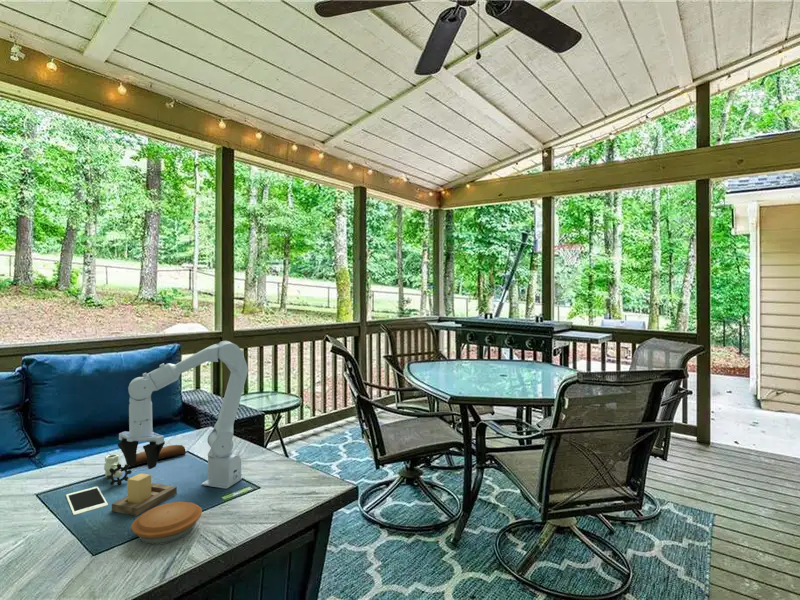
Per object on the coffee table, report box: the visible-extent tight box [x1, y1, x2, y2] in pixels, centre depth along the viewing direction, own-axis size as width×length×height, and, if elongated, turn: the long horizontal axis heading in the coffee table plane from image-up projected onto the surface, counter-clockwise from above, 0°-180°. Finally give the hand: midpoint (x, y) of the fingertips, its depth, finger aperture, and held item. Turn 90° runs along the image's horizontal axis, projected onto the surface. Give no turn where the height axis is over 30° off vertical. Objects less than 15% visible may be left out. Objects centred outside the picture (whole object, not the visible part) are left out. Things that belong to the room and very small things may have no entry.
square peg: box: [127, 472, 152, 504], centre depth 119 cm, size 4×4×8 cm
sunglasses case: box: [128, 444, 186, 469], centre depth 153 cm, size 18×7×7 cm
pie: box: [131, 501, 203, 545], centre depth 106 cm, size 15×16×5 cm
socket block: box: [111, 482, 178, 517], centre depth 121 cm, size 9×13×2 cm
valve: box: [103, 453, 132, 486], centre depth 136 cm, size 7×7×12 cm
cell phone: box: [65, 486, 109, 516], centre depth 122 cm, size 8×16×1 cm, turn 44°
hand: (141, 466), depth 122 cm, fingers open, 7 cm apart
